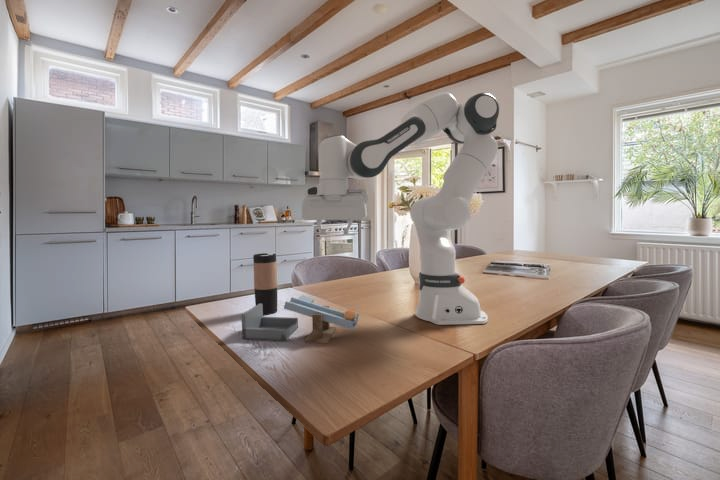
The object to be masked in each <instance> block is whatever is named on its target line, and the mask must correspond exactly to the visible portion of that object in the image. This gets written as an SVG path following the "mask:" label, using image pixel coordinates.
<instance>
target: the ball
mask: <svg viewBox="0 0 720 480" xmlns="http://www.w3.org/2000/svg"><path fill="white" fill-rule="evenodd" d="M343 313H344V318H345V319H346V320H350V321H353V320H354V319H355V317H356V315H357V313H356V312H355V311H354V310H353V309H346V311H345V312H343Z"/></svg>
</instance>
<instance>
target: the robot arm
mask: <svg viewBox="0 0 720 480" xmlns="http://www.w3.org/2000/svg"><path fill="white" fill-rule="evenodd" d="M499 113H500V104H499V102H498V100H497V98H496V97H495V96H494V95H492V94H491V93H488V92H479V93H477V94H474V95H473V96H470V97H469V98H468V99H467V100H466V101H465V102H464V103H463V104H462V103H460V102H458V100H457V99H456V97H454V95H453V94H451V93H450V92H446V91H444V92H440V93H437V94H434V95H432V96H430V97H429V98H426V99H424V100H423V101H421V102H419V103H418V104H416V105H415V106H413V107H412V108H411V109H410V110H408V111H407V113H406V114H404V116H402V118H401V121H400V124H399V125H398V126H396V127H395V128H393V129H392V130H390V131H389V132H387V133H385V134H384V135H383V136H381V137H380V138H377V139H371V140H365V141H362V142H359V143H358V144H355V143H354V142H352V141H351V140H349V139H348V138H346V136H344V135H342V134H340V135H339V134H337V135H336V134H335V135H330V136H328V137H325V138H324V139H323V140H321V142H320V143H319V144H320V145H319V150H318V167H319V171H320V175H319V180H318V182H319V183H318V184H315V185H313V186H310V187H307V188H304V192H303V193H304V197H303V200H302V203H301V204H302V205H301V217H302V219H303V221H316V226H317V228H318V229H319V235H321V236H323V235H327V228H324V226H323V225H322V224H323V221H342V220H343V221H344V220H346V224H348V225H347V226H346V228H343V235H345V236H347V235H350V228H351V227H352V225H353V221H355V220H358V221H359V220H360V221H361V220H362V221H363V220H366V219H367V217H368V211H367V210H368V209H367V202H368V193H367V191H365V190H363V189H362V188H361V189H349V178H351V179H355V180H360V181H361V180H367V179H369V178H373V177H377V176H378V175H380V174H381V173H382V172H383V171H384V169H385V168H386V166H387V164H388V162H389V161H390V160H391V158H393V157H394V156H396V155H397V154H398V153H399V152H401V151H403V150H404V149H405V148H407V147H408V146H410V145H412V144H417V145H418V144H421V143H423V142H425V141H427V140H429V139H431V138H433V137H434V136H436V135H438V133H440V132H442V131H443V132H444V134H446V135H447V137H448V138H449V140H451V141H452V142H453V143H455V144H458V145H459V144H461V145H462V147H461V149H460V150H459V151H458V153H457V154H456V156H455V157H454V159H453V160H452V162H451V163H450V165H449V166H448V167H447V169H446V170H445V171H444V173H443V177H442V178H443V183H442V186H441V188H440V190H439V191H438V193H436V194H435V195H430V196H429V195H428V196H424V197H421V198H419V199H418V200H416V201H415V202H414V203H413V204H412V205H411V207H410V212H409V215H410V219H411V221H412V222H413V224H414V227H415V231H416V235H417V238H418V243H419V253H420V272H419V273H418V288H419V289H418V290H419V294H418V302H417V307H416V311H415V314H414V315H415V317H417V318H418V319H421V320H423V321H427V322H430V323H432V324H435V325H439V326H441V325H444V326H445V325H446V326H449V325H480V324H482V325H484V324H486V323H487V322H489V317H488V314H487V312H485V311H483V310H482V309H481V305H480V301H479V298H477V296H476V295H475V294H474V293H472V292H471V291H470V290H468V289H467V288H466V287H465V286H464V285H462V284H465V282H466V278H464V276H463V275H460V274H459V273H457V272H456V270H457V269H456V266H457V264H456V263H457V262H456V261H457V260H456V259H457V257H456V255H457V254H456V253H457V251H456V248H455V246H454V244H453V243H452V241H451V239H450V235H449V232H452V231H455V230H461V229H462V228H464V227H466V226H467V225H468V224H469V222H470V220H471V216H472V209H471V208H472V207H471V205H470V204H471V202H472V201H471V200H472V198H473V195H474V194H475V191H476V190H477V188H478V186H479V185H480V183H481V182H482V180H483V178H484V177H485V176H486V174H487V173H488V171H489V169H490V168H491V166H492V164H493V162H494V160H495V157H496V155H497V152H498V150H499V144H498V142H497V140H496V139H495V138H494V137H493V136H492V133H493V132H494V131H495V130H496V129H497V122H498V118H499Z"/></svg>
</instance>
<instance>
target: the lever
mask: <svg viewBox="0 0 720 480" xmlns="http://www.w3.org/2000/svg"><path fill="white" fill-rule="evenodd" d="M314 302H315V298H312V297H310V296H306V295H300V296H298V298H297V297H293V296H291V298H290V300H289V301H288V300H286V301H285V302H284V306H283V309H284V310H287V311H290V312H293V313H297V314H300V315H303V316H306V317H310V318H312V315H313V314H322V320H323V321H326V322H329V324H333V325H336V326H340V327H343V328H346V329H349V330H352V331H354V330H355V328H356V326H357V324H358V321H359V316H360V314H359V313H356V317H355V319H354V320H353V321H350V320H346V319H345V318H344V313H345V312H342V311H340V310H336V309H333V308H330V307H329V308H327V307H324V306H325V305H320V304H318V303H317V304H316V303H314Z"/></svg>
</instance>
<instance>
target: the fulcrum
mask: <svg viewBox="0 0 720 480" xmlns="http://www.w3.org/2000/svg"><path fill="white" fill-rule="evenodd" d="M323 306H324V307H327V308H330V306H329V305H323ZM311 318H312V319H311V320H312V321H311V322H312V324H311V325H312V331H311V332H310V333H309V334H308V335H307V337H305V343H314V344H315V343H316V344H317V343H318V344H328V343H329V341H330V340H331V339H332V337H333V336H334V334H335V332H336V331H337V327H336V326H330V324H331V323H329V322H326V321H323V320H322V314H313V315H312V317H311Z"/></svg>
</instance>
